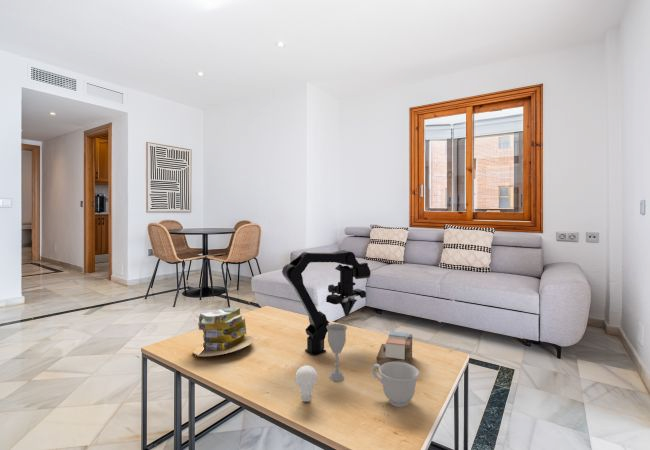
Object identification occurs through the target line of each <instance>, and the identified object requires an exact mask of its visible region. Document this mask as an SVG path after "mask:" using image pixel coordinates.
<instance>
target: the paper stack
mask: <svg viewBox="0 0 650 450" xmlns="http://www.w3.org/2000/svg"><path fill="white" fill-rule="evenodd" d="M245 319H246V318H244V319H243V316H242V315H241V308H240V307H224V308H218V309H215V310H212V311H210V312H209V311H208V312H201V313H200V314H199V316H198V320H199V321H198V324H197V326H198V330H199V331H200V330H201V331H202V333H203V334H202V335H203V336H202V338H203V347H204V350H203V351H202V352H201V353H200V354H199V355H197V357H213V356H220V355H224V354H225V355H226V354H228V353H229V354H230V353H233V352H236V351H239V350H241V349H243V348H245V347H247V346H250V345H251V344H253V342H254V341H255V338H254V336H251V335H248V334H247V327H246V326H247V325H246V320H245Z"/></svg>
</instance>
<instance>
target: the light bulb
mask: <svg viewBox="0 0 650 450" xmlns="http://www.w3.org/2000/svg"><path fill="white" fill-rule="evenodd" d="M317 381H318V373H317V371H316V370H315V368H314V367H313V366H311V365H308V364H307V365H302V366H300V367H299V368H298V369H297V371H296V373H295V382H296V384H297V386H298V388H299V390H300V394H301V401H302V402H304V403H309V402H310V401H311V400H312V393H313V389H314V386H315V385H316V383H317Z"/></svg>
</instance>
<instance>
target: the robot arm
mask: <svg viewBox="0 0 650 450" xmlns="http://www.w3.org/2000/svg"><path fill="white" fill-rule="evenodd" d="M311 263H337V266H336V267H335V268H334V269H335V270H336V271H339V281H338V282H337V285H334V283H333V284H329V285H328V286H327V291H328V293H331V294H327V295H326V299H325V301H326V303H329V304H332V305H340V306H341V308H342V310H343V313H344V314H343V315H344V316H345V317H349V315H350V314H351V311H352V309H353V307H354V305H355V303H356V302H357V301H358V300H357V299H356V298H355V297H360V298H361V299H364V298H367V292H366V290H363V289H359V288H355V289H354V286H356V282H355V281H354V279H355V280H360V279H363V280H364V279H369V278H370V277H371V270H370V269H371V268H370V267H369V264H368V262H362V263H359V261H358V260H357V259H356V255H355V253H354V252H353V251H348V250H338V251H335V252H307V251H303V252H302V253H300V255H298V256H297V257H295V259H293V260H291V262H289V263H287V264H285V265H284V266H283V268H282V271H281V272H282V276H283V277H284V278H285V279H286V281H288V283H289V284H290V285H291V286H292V288H293V289H294V292H296V294H297V296H298V299H299V300H300V302H301V304H302V306H303V307H304V309H305V311H306V313H307V315H308V322H309V324H308V326H307V327H306V328H305V333H306V335H307V339H306V340H307V341H306V345H307V346H306V349H304V351H305V353H308V354H309V355H312V356H318V355H321V354H323V353H326V352H327V349H325V339H326V336H327V334H328V330H327V328H326V326H327V325H330V321H329V320H328V319H327V316H326V314H325V313H324V312H322V311H321V310H318V309H317V307H316V305H315V303H314V300H313V299H312V297H311V296H310V293H309V292H308V290H307V287H306V286H305V285H304V284H305V283H304V277H303V274H302V273H304V271H306V268H307V267H308V266H309V264H311Z"/></svg>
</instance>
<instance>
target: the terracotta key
mask: <svg viewBox="0 0 650 450" xmlns="http://www.w3.org/2000/svg"><path fill="white" fill-rule="evenodd" d="M385 344H386V353H385V357H389V358H397V359H405V356H406V341H405V340H399V339H390V338H387V339H386V342H385Z"/></svg>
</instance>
